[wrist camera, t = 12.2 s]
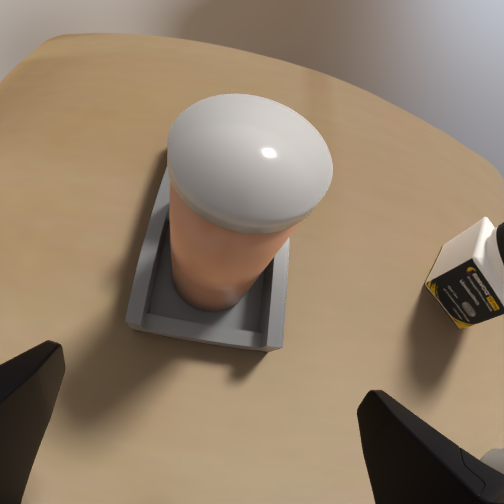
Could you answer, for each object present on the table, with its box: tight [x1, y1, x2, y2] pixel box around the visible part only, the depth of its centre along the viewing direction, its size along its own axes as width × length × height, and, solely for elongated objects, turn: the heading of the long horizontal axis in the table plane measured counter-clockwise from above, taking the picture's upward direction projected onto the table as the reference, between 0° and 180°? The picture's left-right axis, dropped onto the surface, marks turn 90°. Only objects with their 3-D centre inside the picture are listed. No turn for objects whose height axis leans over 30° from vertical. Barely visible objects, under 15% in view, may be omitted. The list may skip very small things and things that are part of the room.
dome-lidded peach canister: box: [167, 94, 333, 312], centre depth 16 cm, size 6×6×13 cm
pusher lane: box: [125, 167, 290, 352], centre depth 22 cm, size 18×10×4 cm, turn 174°
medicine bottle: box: [425, 217, 504, 329], centre depth 22 cm, size 7×7×12 cm
